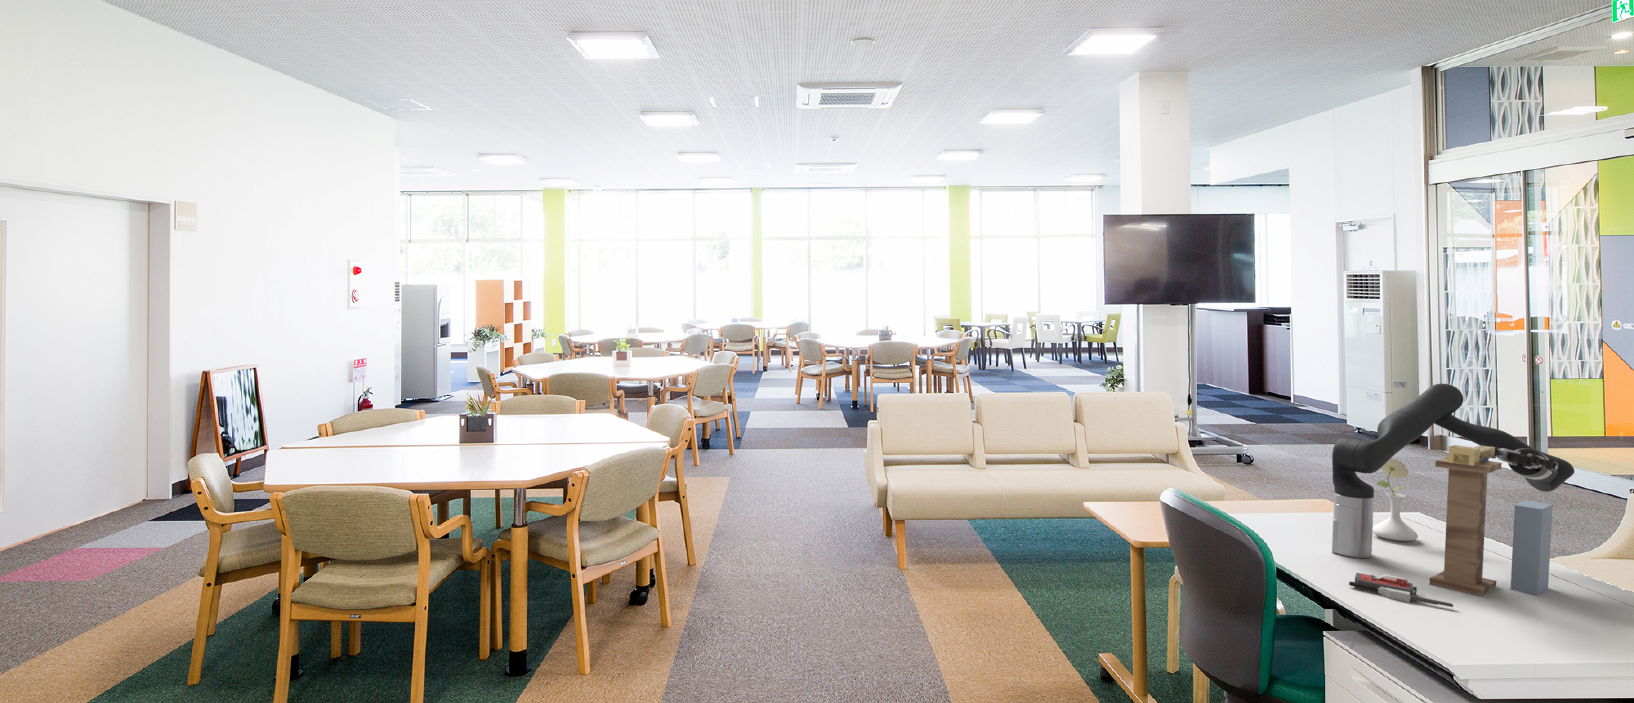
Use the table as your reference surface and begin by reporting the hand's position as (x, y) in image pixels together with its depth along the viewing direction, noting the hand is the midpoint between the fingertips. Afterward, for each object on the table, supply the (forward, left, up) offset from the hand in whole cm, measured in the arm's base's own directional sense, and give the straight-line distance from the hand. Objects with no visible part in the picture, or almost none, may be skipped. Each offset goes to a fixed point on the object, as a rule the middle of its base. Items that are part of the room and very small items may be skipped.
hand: (1511, 453), depth 193 cm
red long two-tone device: (-24, -37, -33) cm, 55 cm away
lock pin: (-9, -15, 0) cm, 17 cm away
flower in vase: (-23, +21, -33) cm, 45 cm away
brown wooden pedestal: (-10, -19, -32) cm, 39 cm away
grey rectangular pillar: (+3, -12, -32) cm, 34 cm away
